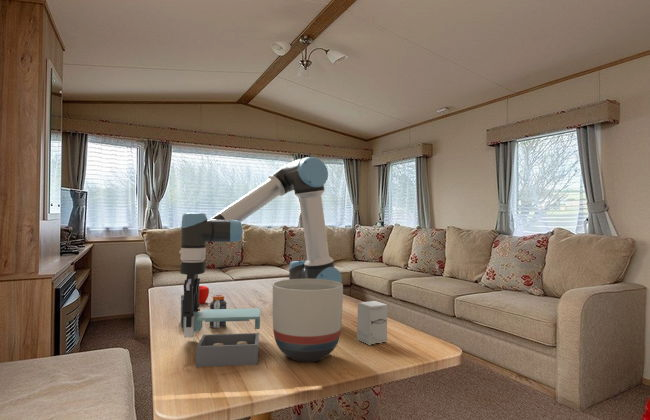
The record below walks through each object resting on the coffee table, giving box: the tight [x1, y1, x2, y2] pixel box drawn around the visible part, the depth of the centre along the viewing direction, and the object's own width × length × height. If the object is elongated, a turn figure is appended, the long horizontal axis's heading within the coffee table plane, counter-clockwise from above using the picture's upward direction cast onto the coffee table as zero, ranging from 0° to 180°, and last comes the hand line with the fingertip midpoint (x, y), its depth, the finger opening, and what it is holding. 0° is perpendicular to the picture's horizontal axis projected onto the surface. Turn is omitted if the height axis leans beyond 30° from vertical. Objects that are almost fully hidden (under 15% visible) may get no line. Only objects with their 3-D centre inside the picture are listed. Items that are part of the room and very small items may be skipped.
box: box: [180, 294, 199, 329], centre depth 143 cm, size 8×6×11 cm
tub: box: [195, 332, 260, 368], centre depth 106 cm, size 16×11×6 cm
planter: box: [272, 279, 344, 363], centre depth 110 cm, size 20×20×21 cm
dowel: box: [237, 341, 247, 345], centre depth 107 cm, size 3×3×4 cm
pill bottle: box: [209, 294, 227, 329], centre depth 142 cm, size 6×6×11 cm
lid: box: [182, 307, 261, 332], centre depth 122 cm, size 24×12×5 cm, turn 98°
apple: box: [199, 285, 210, 305], centre depth 180 cm, size 9×9×8 cm
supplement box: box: [356, 300, 388, 346], centre depth 126 cm, size 7×7×13 cm
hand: (190, 334), depth 120 cm, fingers closed on lid, 4 cm apart
